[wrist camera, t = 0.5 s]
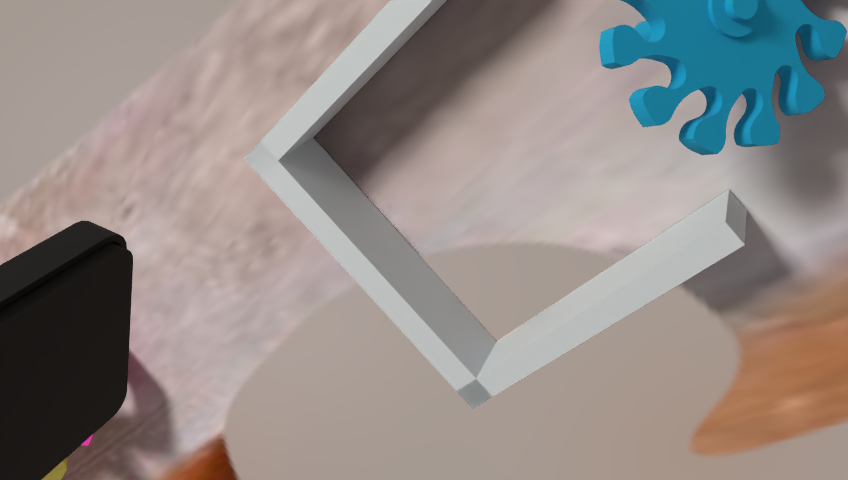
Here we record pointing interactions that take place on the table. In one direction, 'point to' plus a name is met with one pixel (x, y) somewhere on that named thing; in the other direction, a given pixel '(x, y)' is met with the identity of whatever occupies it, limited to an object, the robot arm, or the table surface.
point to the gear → (724, 63)
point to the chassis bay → (413, 278)
